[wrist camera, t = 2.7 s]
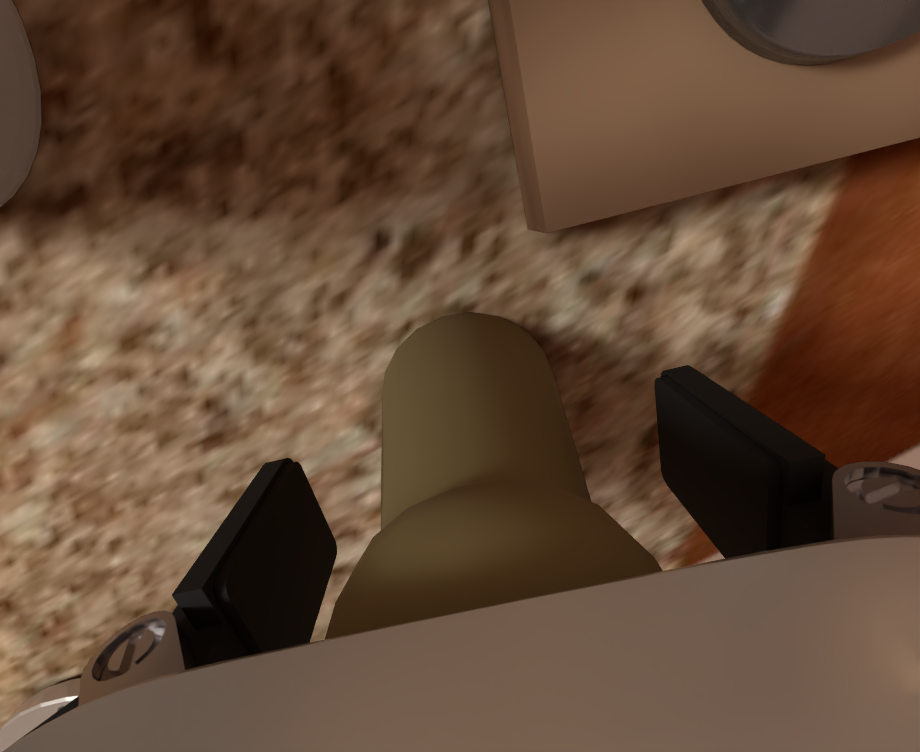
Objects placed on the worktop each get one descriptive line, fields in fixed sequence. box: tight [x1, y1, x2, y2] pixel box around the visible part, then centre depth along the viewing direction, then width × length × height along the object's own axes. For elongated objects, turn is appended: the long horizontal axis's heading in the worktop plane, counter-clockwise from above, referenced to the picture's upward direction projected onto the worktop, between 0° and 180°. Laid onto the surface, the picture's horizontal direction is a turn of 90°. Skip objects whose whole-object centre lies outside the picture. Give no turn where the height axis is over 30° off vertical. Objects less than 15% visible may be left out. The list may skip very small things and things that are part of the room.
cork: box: [325, 312, 662, 640], centre depth 10 cm, size 6×6×11 cm
